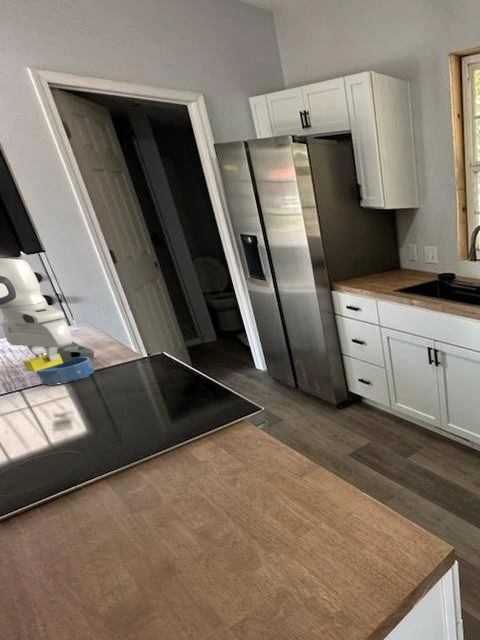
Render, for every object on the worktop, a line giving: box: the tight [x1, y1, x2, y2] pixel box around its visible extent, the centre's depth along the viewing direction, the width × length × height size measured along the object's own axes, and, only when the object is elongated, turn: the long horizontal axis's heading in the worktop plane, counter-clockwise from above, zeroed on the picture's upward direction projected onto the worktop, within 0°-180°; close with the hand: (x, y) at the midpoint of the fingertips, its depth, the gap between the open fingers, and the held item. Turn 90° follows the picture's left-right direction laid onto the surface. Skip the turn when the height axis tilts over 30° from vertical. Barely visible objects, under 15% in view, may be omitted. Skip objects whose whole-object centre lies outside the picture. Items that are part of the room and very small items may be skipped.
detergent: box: [57, 341, 95, 362], centre depth 145 cm, size 13×7×25 cm
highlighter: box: [22, 350, 73, 372], centre depth 121 cm, size 9×3×3 cm, turn 167°
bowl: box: [35, 357, 96, 386], centre depth 132 cm, size 12×12×5 cm
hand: (48, 359), depth 121 cm, fingers closed on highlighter, 3 cm apart
